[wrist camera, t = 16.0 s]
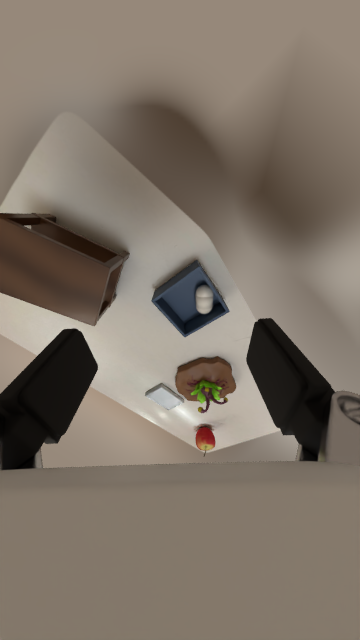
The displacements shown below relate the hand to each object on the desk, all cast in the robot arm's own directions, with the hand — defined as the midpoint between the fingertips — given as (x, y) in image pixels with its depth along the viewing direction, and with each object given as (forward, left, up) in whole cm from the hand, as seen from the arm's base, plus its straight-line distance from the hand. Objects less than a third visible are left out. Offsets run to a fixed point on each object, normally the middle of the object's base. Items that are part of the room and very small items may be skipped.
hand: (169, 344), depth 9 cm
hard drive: (+48, +18, -30) cm, 60 cm away
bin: (+8, +7, -30) cm, 32 cm away
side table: (+11, -17, -30) cm, 36 cm away
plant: (+33, +26, -30) cm, 52 cm away
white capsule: (+7, +8, -27) cm, 30 cm away
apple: (+63, +44, -30) cm, 83 cm away
